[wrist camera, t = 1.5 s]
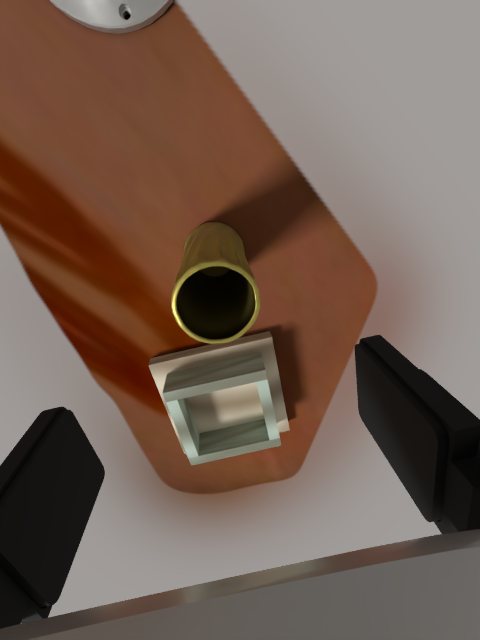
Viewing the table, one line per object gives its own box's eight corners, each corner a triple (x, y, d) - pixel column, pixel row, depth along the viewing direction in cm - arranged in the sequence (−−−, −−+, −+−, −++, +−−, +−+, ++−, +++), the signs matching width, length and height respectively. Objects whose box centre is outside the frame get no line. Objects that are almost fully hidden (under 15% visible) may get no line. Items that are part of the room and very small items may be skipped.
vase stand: (150, 358, 35) (141, 384, 30) (269, 331, 35) (278, 353, 30) (185, 444, 41) (182, 477, 36) (287, 421, 41) (296, 452, 36)
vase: (254, 237, 30) (286, 278, 17) (229, 291, 32) (241, 363, 19) (197, 211, 29) (185, 233, 16) (175, 269, 31) (148, 331, 18)
